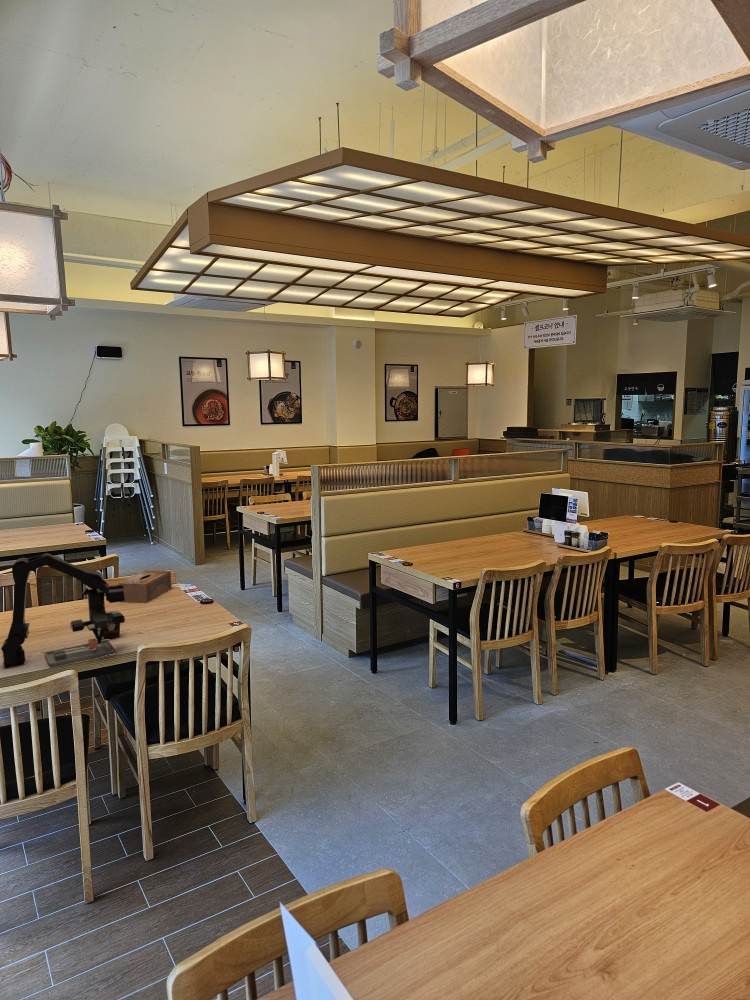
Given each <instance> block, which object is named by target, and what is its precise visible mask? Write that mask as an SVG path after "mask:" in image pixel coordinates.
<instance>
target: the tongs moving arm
mask: <svg viewBox="0 0 750 1000" xmlns="http://www.w3.org/2000/svg"><path fill="white" fill-rule="evenodd" d="M80 649H85V646H83V647H77V648H72V649H66V650H59V651H54V659H55V654H59V653H64V652H70V651H75V650H80Z"/></svg>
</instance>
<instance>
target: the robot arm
mask: <svg viewBox="0 0 750 1000" xmlns="http://www.w3.org/2000/svg"><path fill="white" fill-rule="evenodd" d="M42 567H49V568H51V569H53V570H54V571H55V570H56V571H59V572H61V573H63V574H64V575H68V576H69V577H70V576H71V577H72V578H75V579H76V580H78V581H79V582H80V583H82V584H83V585H84V586H86V587H85V589H84V590H83V591H82V593H81V594H82V596H87V601H88V603H87V604H88V615H89V616H88V617H89V620H86V621H83V620H82V619H76V620H71V622H70V624H69V625H70V630H71V631H72V632H73V633H74V632H80V631H83V630H84V629H85V628H87V630H88V631H90V632H91V631H92V633H93V634H94V637H95V639H96V641H97V642H98V643H101V641H103V634H104V631H105V629H106V628H108V627H109V625H108V623H110V622H113V621H114V622H115V623H116V624H119V623H120V624H124V623H126V621H125V619H126V618H125V616H124V615H123V613H122V612H121V613H115V614H113V613H106V612H107V610H106V607H105V606H106V605H105V604H106V603H105V601H106V602H108V603H109V604H113V603H114V604H115V603H125V602H124V601H125V596H124V589H123V584H113V585H110V584H109V583H108V582H107V581H105V579H104V576H103V574H102V573H101V572H100V571H97V570H94V569H89V568H84V567H83V568H82V567H80V566H78V565H75V564H73V563H71V562H69V561H67V560H63V559H61V558H60V557H57V556H55V555H52V554H51V553H48V552H46V553H43V554H40V555H35V556H31V557H28V558H27V557H20V558H18V559H17V560H15V562H14V563H13V565H12V567H11V570H12V571H11V573H12V580H13V582H14V595H13V605H12V606H13V607H12V621H11V624H10V628H9V632H8V635H7V637H6V639H5V640H4V642H3V643H2V646H1V648H0V650H1V651H2V658H3V660H2V661H3V663H2V664H3V668H4V669H5V670H6V669H9V668H10V667H11V668H14V667H21V666H24V665H25V662H26V655H25V654H26V653H25V649H24V648H23V644H24V643H25V640H27V639H28V637H29V634H30V622H26V619H25V617H26V604H27V603H26V601H27V587H28V580H29V577H30V574H31V572H32V571H35V570H37V569H40V568H42ZM98 630H99V631H98Z"/></svg>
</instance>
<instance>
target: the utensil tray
mask: <svg viewBox="0 0 750 1000" xmlns="http://www.w3.org/2000/svg"><path fill="white" fill-rule="evenodd" d="M99 644H104V645H105V650H104V651H99V652H96V653H93V654H89V655H84V656H79V657H75V658H70V659H65V660H61V661H55V659H54V651H59V650H66V649H72V648H77V647H83V646H85V648H87V647H88V646H89V643H83V644H80V645H79V644H78V645H75V646H70V647H69V646H68V647H64V648H60V649H54V650H48V651H44V654H43V655H44V657H45V660H46V663H47V662H48V663H47V665H48V667H49V669H51V668H57V667H60V666H61V667H62V666H66V665H70V664H74V663H75V662H76V663H78V662H79V663H80V662H85V661H89V660H93V659H98V658H103V657H102V656H104V657H106V656H105V655H108V656H110V655H109V654H113V653H116V654H117V649H116V648H115V647H114V646H113V645H112V643H111V641H109V640H105V639H102V640H101V643H98V641H97V645H99ZM113 655H114V654H113ZM76 663H75V664H76Z"/></svg>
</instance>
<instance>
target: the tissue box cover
mask: <svg viewBox="0 0 750 1000" xmlns="http://www.w3.org/2000/svg"><path fill="white" fill-rule="evenodd" d="M119 584H123V589H124V596H125V601H124V602H123V603H126V604H127V603H130V604H131V603H132V604H148V603H150V602H152V601H153V600H155V599H157V598H159V597H160V596H162V595H164V594H166V593H167V592H168V590H169V591H171V590H172V573H171V570H143V571H141V572H139V573H136V574H135V575H134V576H131V577H129V578H126V579H125V580H123V581H120V582H119V583H117V585H119ZM165 592H166V593H165ZM163 593H164V594H163ZM161 594H162V595H161ZM158 596H159V597H158Z"/></svg>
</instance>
